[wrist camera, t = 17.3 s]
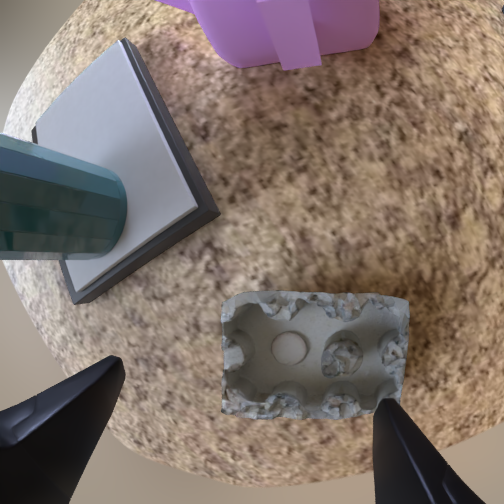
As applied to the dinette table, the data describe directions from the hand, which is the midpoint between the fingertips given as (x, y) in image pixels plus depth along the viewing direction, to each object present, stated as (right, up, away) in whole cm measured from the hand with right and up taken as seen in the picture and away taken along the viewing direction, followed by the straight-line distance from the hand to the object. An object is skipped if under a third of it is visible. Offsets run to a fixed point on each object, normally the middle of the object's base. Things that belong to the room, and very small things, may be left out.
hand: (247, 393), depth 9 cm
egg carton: (+4, -1, +9) cm, 10 cm away
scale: (-12, +12, +14) cm, 23 cm away
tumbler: (-11, +7, +11) cm, 18 cm away
